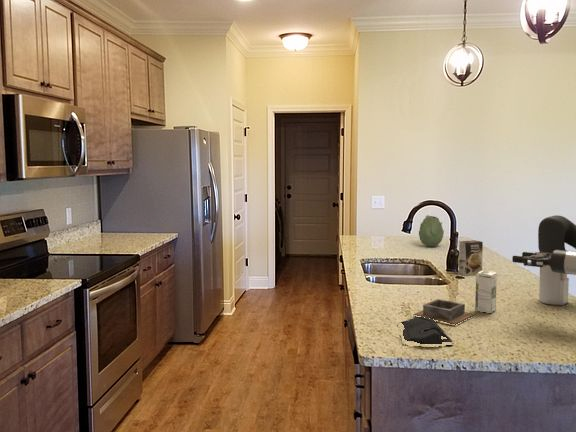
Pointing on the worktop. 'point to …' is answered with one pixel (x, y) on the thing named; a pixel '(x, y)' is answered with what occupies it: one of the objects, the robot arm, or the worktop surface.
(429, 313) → the socket board
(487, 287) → the syrup box
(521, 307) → the worktop surface
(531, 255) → the robot arm
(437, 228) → the cabbage
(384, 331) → the worktop surface
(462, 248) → the coffee box
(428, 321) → the dark slate chunk
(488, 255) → the worktop surface
